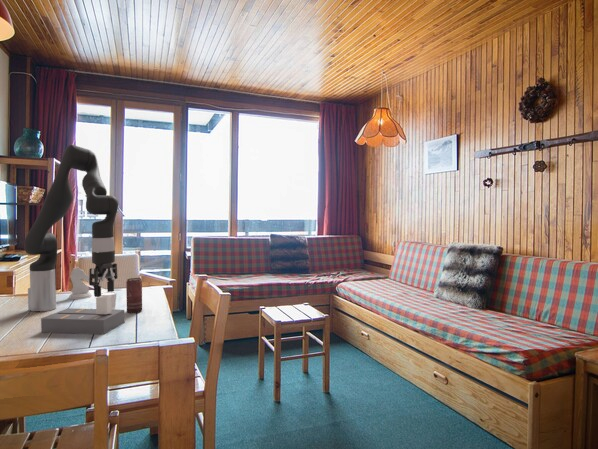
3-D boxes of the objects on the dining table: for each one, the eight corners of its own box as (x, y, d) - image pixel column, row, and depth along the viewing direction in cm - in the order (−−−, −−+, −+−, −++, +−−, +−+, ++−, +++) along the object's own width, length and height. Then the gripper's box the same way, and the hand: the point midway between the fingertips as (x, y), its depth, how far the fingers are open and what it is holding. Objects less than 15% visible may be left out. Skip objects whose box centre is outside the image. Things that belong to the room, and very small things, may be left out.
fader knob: (96, 319, 143) (96, 297, 142) (101, 317, 146) (100, 295, 145) (107, 319, 143) (106, 297, 142) (111, 317, 146) (111, 296, 145)
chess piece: (92, 297, 192) (91, 267, 192) (68, 300, 187) (68, 269, 187) (91, 294, 201) (90, 265, 200) (68, 296, 196) (68, 266, 195)
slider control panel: (41, 332, 139) (41, 318, 139) (67, 321, 153) (67, 308, 152) (103, 334, 137) (103, 319, 137) (124, 322, 151) (124, 309, 151)
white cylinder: (120, 308, 172) (120, 292, 172) (108, 312, 166) (107, 295, 166) (108, 307, 175) (107, 291, 174) (95, 310, 168) (95, 294, 168)
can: (137, 313, 164) (136, 280, 163) (123, 312, 165) (123, 279, 164) (145, 310, 170) (145, 278, 169) (132, 309, 171) (132, 277, 170)
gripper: (104, 248, 151) (105, 290, 151) (81, 252, 136) (82, 298, 137) (123, 248, 150) (124, 290, 151) (102, 252, 136) (103, 298, 137)
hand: (104, 294), depth 144 cm, fingers open, 8 cm apart
